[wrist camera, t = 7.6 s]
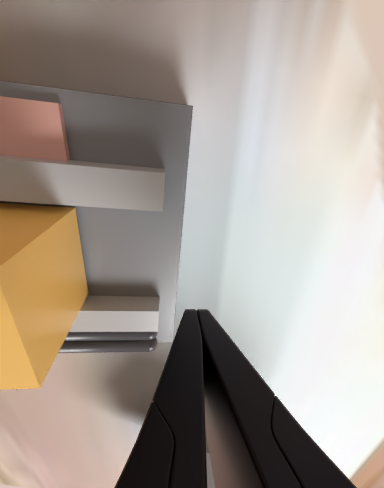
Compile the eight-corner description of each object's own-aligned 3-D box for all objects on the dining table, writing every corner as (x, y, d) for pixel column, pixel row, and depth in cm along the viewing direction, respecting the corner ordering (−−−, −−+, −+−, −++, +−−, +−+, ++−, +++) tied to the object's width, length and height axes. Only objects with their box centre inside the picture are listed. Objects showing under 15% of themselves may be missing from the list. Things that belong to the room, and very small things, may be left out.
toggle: (10, 292, 11) (-92, 392, 7) (-24, 201, 9) (-204, 264, 5) (88, 293, 12) (40, 388, 7) (75, 207, 10) (-6, 270, 5)
